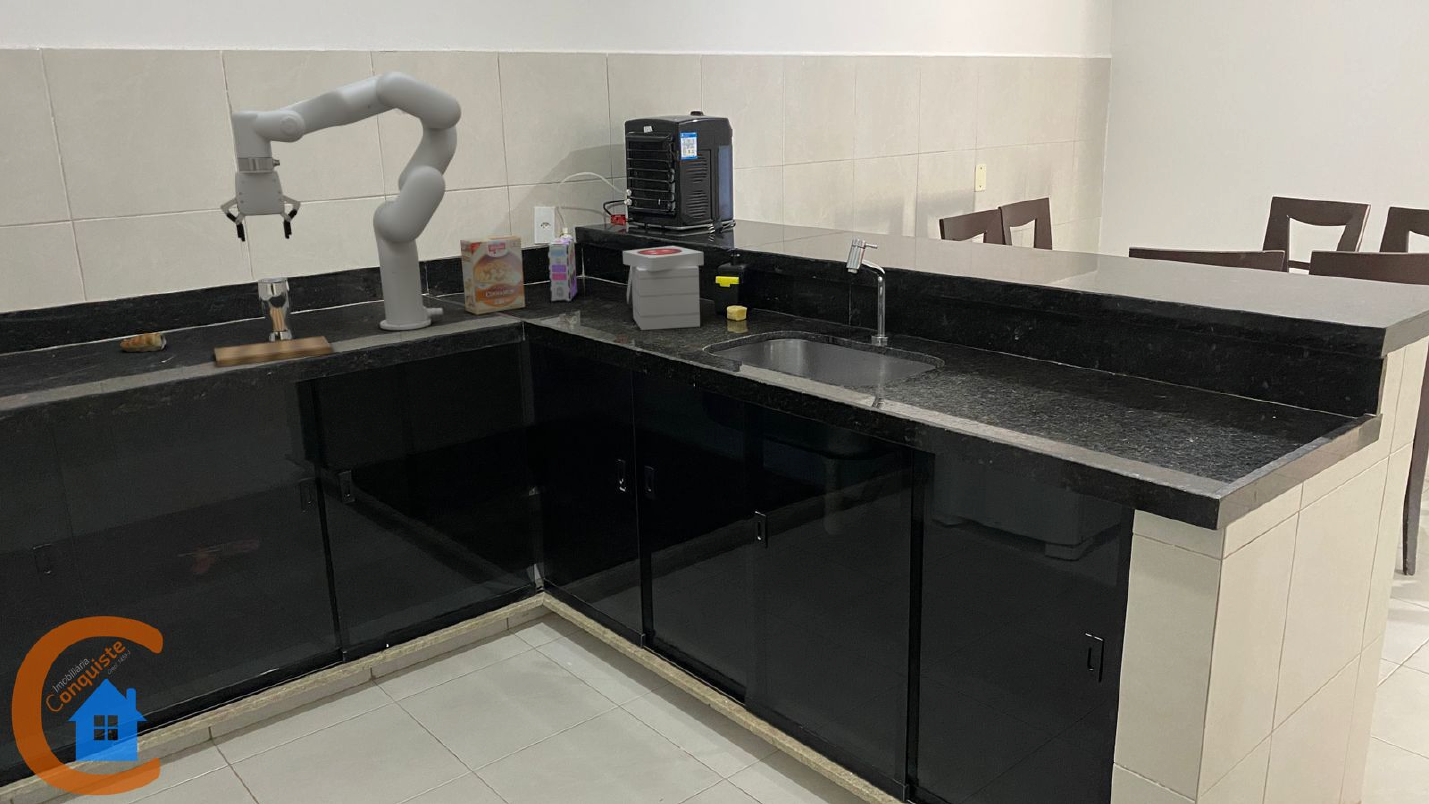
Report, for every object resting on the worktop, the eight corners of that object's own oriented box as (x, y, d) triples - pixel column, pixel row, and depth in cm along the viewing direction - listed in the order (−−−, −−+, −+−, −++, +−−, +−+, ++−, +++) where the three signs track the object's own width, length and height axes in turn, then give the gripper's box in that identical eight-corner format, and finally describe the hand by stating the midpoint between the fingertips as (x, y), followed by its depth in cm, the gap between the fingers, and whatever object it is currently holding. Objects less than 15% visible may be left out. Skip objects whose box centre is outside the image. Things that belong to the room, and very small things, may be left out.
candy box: (571, 301, 289) (567, 243, 284) (550, 302, 289) (546, 243, 284) (577, 292, 302) (574, 236, 297) (558, 293, 302) (554, 237, 297)
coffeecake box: (476, 315, 274) (470, 242, 268) (465, 311, 279) (458, 239, 273) (526, 307, 283) (521, 236, 277) (514, 303, 288) (508, 234, 282)
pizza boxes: (687, 304, 282) (685, 239, 277) (709, 327, 254) (707, 255, 249) (618, 308, 278) (615, 242, 273) (632, 332, 250) (629, 259, 245)
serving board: (324, 341, 246) (323, 335, 246) (332, 353, 235) (331, 346, 235) (215, 354, 236) (214, 348, 235) (218, 367, 225) (216, 360, 224)
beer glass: (285, 344, 244) (276, 282, 240) (259, 343, 246) (250, 282, 242) (302, 337, 251) (294, 277, 247) (277, 337, 252) (268, 276, 248)
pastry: (118, 354, 238) (115, 338, 237) (124, 348, 244) (122, 332, 243) (163, 350, 241) (160, 334, 240) (168, 344, 247) (165, 329, 246)
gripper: (293, 163, 243) (302, 235, 248) (213, 166, 236) (224, 240, 241) (297, 165, 237) (306, 239, 242) (215, 167, 229) (226, 244, 234)
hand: (265, 239), depth 241 cm, fingers open, 9 cm apart
